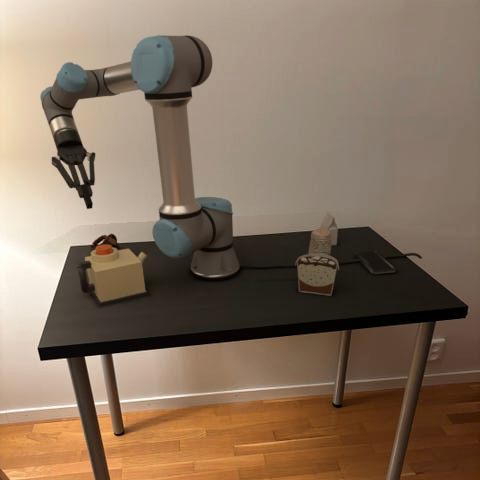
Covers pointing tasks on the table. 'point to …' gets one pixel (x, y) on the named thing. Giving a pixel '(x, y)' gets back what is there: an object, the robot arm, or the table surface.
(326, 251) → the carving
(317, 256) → the food container
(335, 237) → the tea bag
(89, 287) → the kettle handle and spout
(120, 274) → the kettle
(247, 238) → the table surface
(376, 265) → the phone
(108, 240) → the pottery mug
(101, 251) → the button
